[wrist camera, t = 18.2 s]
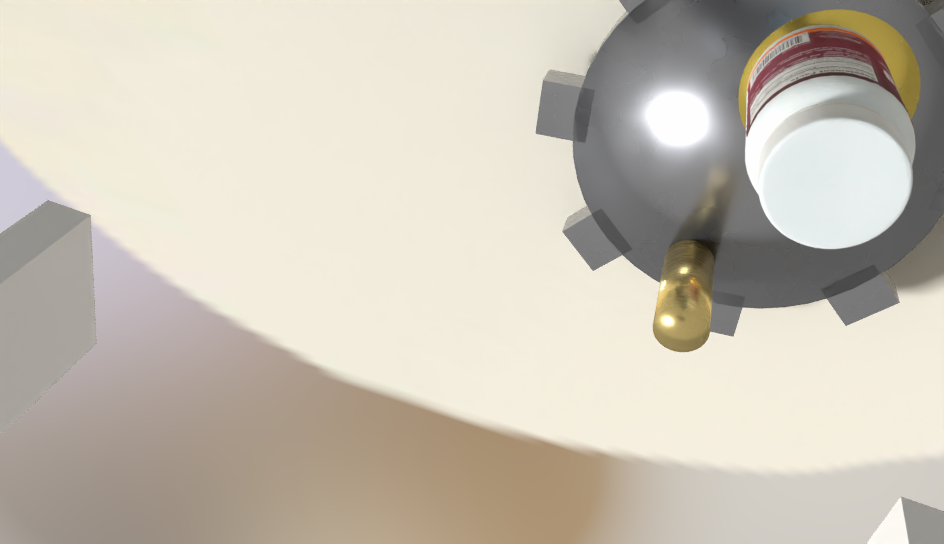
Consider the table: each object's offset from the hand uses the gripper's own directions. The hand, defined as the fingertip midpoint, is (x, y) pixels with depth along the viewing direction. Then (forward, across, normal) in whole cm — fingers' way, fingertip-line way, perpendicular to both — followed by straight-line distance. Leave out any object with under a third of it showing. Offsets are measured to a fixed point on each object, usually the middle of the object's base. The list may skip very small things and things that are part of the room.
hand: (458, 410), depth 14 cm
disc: (+23, +6, -3) cm, 24 cm away
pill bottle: (+22, +7, -1) cm, 23 cm away
